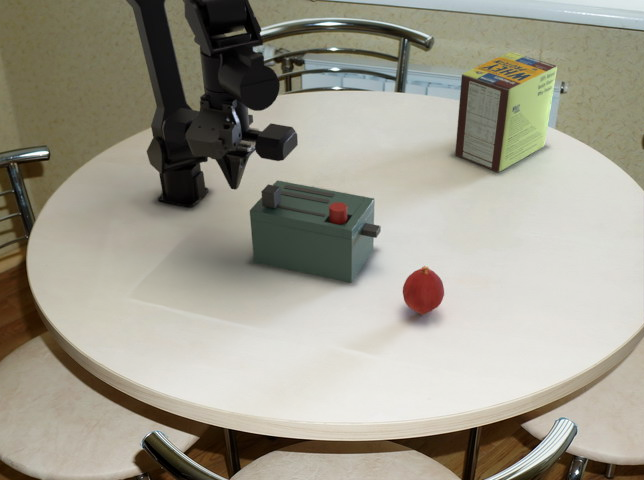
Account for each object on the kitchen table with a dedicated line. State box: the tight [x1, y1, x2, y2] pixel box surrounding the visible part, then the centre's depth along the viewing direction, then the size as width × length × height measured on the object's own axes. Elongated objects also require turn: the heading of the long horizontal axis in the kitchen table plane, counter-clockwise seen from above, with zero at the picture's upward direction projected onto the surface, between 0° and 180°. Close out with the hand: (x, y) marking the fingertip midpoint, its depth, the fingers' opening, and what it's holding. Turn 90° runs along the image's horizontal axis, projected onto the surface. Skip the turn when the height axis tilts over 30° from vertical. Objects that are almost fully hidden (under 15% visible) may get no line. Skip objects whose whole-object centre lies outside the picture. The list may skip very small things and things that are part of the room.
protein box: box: [454, 51, 558, 173], centre depth 156 cm, size 10×15×16 cm
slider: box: [260, 183, 281, 208], centre depth 125 cm, size 2×2×2 cm
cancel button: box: [329, 202, 347, 225], centre depth 123 cm, size 3×3×2 cm
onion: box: [402, 265, 445, 316], centre depth 119 cm, size 6×6×8 cm
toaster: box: [249, 179, 382, 284], centre depth 129 cm, size 18×10×9 cm, turn 71°
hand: (234, 188), depth 126 cm, fingers closed
